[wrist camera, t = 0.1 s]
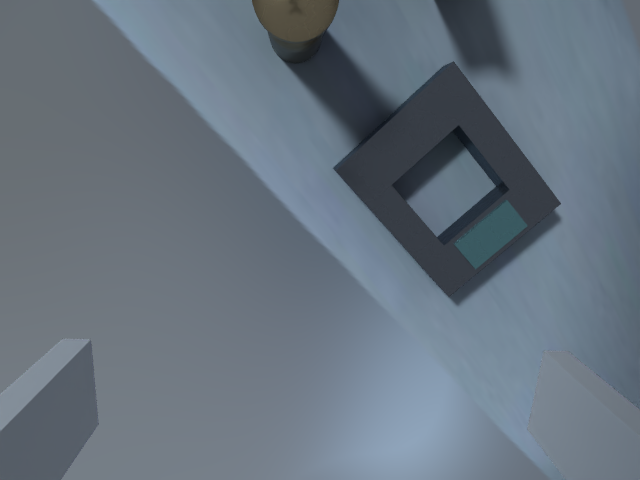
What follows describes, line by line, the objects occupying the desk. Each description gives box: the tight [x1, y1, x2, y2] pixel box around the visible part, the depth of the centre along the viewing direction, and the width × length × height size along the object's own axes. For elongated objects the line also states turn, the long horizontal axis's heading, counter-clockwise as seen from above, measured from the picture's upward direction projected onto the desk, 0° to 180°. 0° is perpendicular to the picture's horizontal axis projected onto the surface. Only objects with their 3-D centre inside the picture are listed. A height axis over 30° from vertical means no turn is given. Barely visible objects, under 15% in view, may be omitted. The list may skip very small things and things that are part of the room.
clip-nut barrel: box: [252, 0, 339, 63], centre depth 30 cm, size 5×5×11 cm
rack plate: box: [333, 62, 561, 297], centre depth 38 cm, size 16×13×3 cm
